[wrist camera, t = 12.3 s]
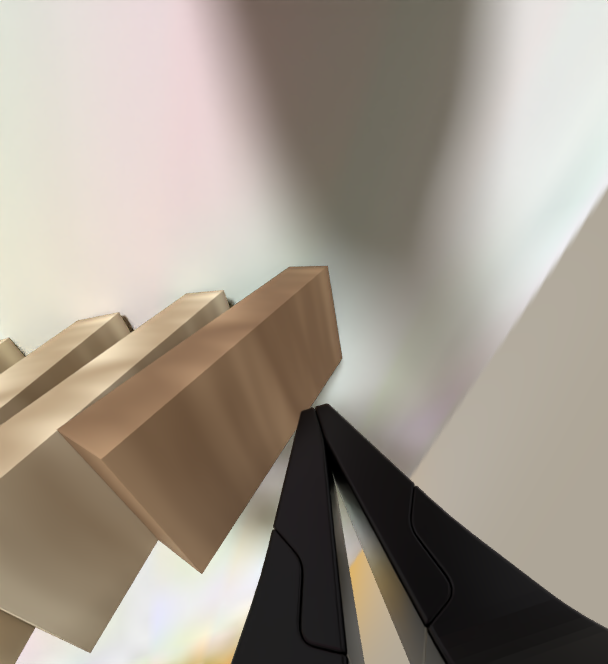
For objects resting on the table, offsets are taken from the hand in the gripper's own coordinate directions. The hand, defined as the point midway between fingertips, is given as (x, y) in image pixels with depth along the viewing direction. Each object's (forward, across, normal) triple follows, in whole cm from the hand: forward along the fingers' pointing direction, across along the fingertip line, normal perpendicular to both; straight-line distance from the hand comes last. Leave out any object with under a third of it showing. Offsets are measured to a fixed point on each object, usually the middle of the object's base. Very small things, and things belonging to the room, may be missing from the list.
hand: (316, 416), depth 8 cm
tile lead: (+6, -2, 0) cm, 7 cm away
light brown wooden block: (+7, +3, 0) cm, 7 cm away
